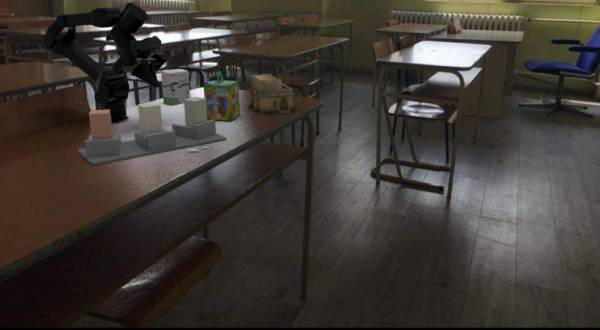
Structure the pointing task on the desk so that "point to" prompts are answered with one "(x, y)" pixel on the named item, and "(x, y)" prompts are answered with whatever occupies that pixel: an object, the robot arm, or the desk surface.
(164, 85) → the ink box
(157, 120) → the cream box
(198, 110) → the sage box
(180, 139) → the grey three-slot stand
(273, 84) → the miniature house
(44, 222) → the desk surface
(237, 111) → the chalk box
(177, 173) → the desk surface
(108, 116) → the terracotta box
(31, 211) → the desk surface
